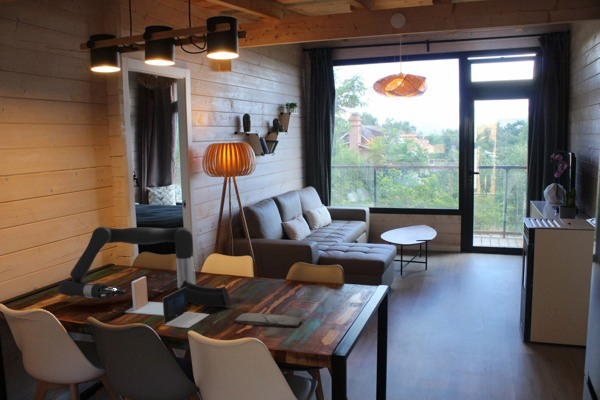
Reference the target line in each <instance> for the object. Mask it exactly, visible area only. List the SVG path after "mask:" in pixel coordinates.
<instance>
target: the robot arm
mask: <svg viewBox="0 0 600 400" xmlns="http://www.w3.org/2000/svg"><path fill="white" fill-rule="evenodd" d="M89 239H90V240H89V242H88V244H87V246H86V248H85V250H84V252H83V253H82V255H81V256H80V257H79V258H78V260H77V262H76V263H75V265H74V267H73V268H72V269H71V271H70V273H69V274H70V277H71V278H72V279H71V281H69V280H64V281H62V282H61V283H59V284H58V286H57V290H58V293H59V294H61V295H63V296H67V297H71V298H72V297H75V296H77V297H81V298H90V299H98V300H99V299H104V298H112V297H114V296H125V295H126V290H125V289H121V287H119V286H118V285H115V286H114V287H111V286H107V284H106V283H99V282H97V283H96V282H90V283H89V282H83V281H84V278H85V277H86V275H87V273H88V272H89V270H90V268H91V267H92V265H93V262H94V261H95V259H96V257H97V255H98V254H99V252H100V251H101V250H102V248H103V247H104V246H105V245H107V244H112V243H113V244H114V243H116V244H117V243H123V244H130V245H154V244H160V243H166V242H168V243H175V246H174V247H175V261H176V263H175V264H176V278H177V280H176V281H177V289H178V290H179V289H180V288H181V285H182V284H183V282H184V281H185V280H186V281H187V282H190V283H192V284H195V285H197V283H196V282H197V280H196V279H197V278H196V270H195V266H194V264H195V263H194V242H193V241H194V240H193V234H192V232H191V230H190V229H189V228H188V227H185V226H184V227H183V226H180V227H173V228H164V227H163V228H162V227H150V226H149V227H148V226H147V227H146V226H145V227H141V226H139V227H126V228H112V227H105V226H99V227H96V228H95V229H94V230H93V231H92V235H91V238H89Z"/></svg>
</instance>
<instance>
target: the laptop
mask: <svg viewBox="0 0 600 400" xmlns="http://www.w3.org/2000/svg"><path fill="white" fill-rule="evenodd" d="M162 303H163V313H164V316H163V324H164V326H166V327H175V328H179V329H181V328H182V329H189V328H190V327H192V326H194V325H196V324H197V323H199V322H200V321H202V320H204V319H205V318H207V317H208V316H210V314H209V313H201V312H192V311H188V301H187V295H186V287H184V288H182V289H180V290H179V289H178V290H176V291H174V292H172V293H170V294H168V295H165V296H164V297H162Z"/></svg>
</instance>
